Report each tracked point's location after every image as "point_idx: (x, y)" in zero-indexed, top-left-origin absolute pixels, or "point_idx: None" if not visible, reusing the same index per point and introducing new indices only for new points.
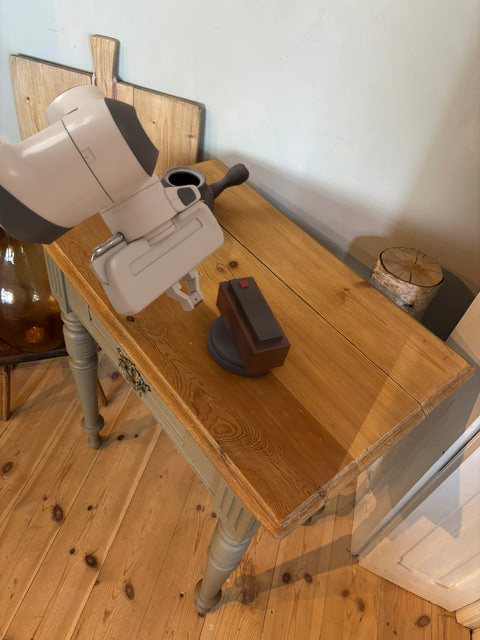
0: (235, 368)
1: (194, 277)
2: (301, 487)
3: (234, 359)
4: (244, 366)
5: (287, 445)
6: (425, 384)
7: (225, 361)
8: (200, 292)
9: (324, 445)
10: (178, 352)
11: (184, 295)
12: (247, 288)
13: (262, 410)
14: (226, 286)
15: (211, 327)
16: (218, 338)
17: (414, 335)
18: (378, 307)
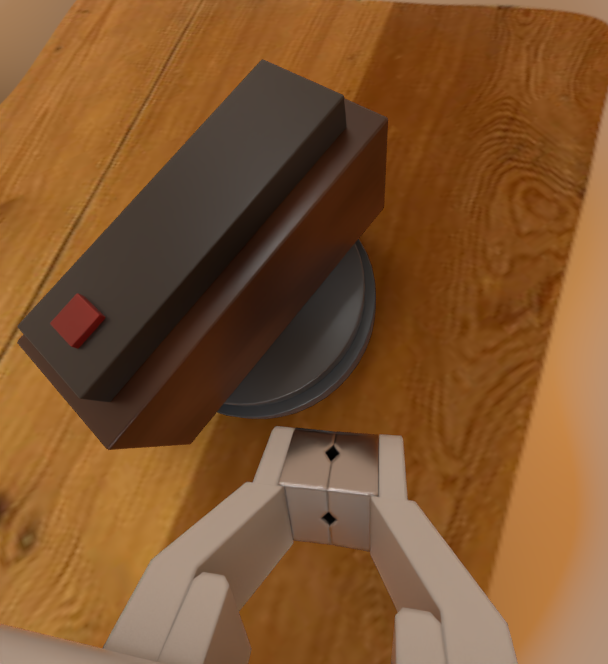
0: (370, 265)
1: (201, 572)
2: (528, 26)
3: (361, 265)
4: None
5: (462, 88)
6: (159, 5)
7: (370, 298)
8: (269, 460)
9: (406, 45)
10: (415, 454)
11: (410, 533)
12: (95, 295)
13: (420, 169)
14: (119, 404)
15: (279, 408)
16: (320, 350)
17: (53, 64)
18: (6, 140)
